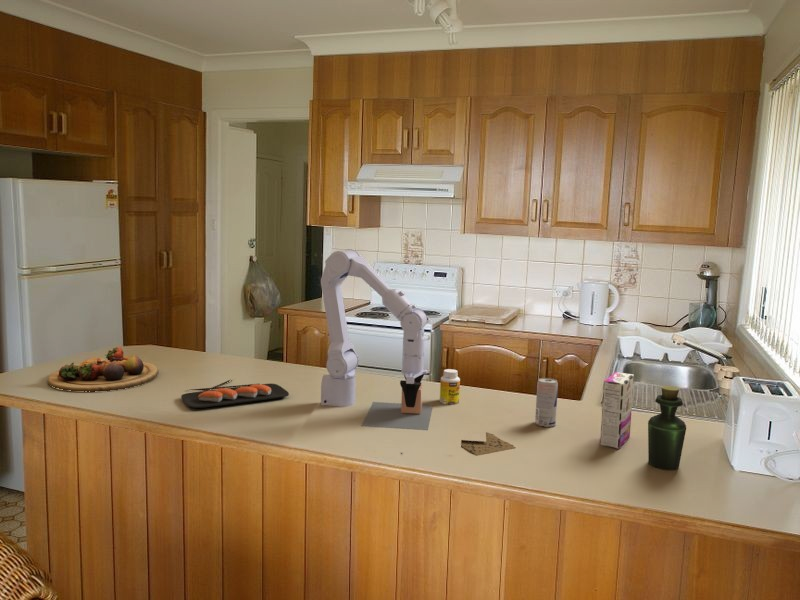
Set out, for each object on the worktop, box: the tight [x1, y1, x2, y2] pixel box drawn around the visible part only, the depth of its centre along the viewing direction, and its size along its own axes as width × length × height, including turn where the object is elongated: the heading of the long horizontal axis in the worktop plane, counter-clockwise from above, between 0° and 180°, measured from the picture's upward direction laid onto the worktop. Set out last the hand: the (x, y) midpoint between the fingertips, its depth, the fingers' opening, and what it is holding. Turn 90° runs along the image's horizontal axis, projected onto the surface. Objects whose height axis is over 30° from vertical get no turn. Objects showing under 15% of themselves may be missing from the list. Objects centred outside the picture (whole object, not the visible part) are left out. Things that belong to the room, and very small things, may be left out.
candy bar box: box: [599, 371, 635, 450], centre depth 165 cm, size 11×5×16 cm, turn 148°
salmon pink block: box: [400, 384, 424, 414], centre depth 181 cm, size 5×5×7 cm
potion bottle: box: [647, 385, 687, 471], centre depth 150 cm, size 8×8×18 cm
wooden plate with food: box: [47, 346, 159, 393], centre depth 210 cm, size 32×32×8 cm
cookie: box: [460, 431, 517, 457], centre depth 161 cm, size 12×12×1 cm
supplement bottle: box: [439, 368, 461, 406], centre depth 191 cm, size 6×6×10 cm
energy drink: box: [534, 377, 559, 428], centre depth 176 cm, size 5×5×12 cm
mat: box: [360, 401, 434, 431], centre depth 178 cm, size 17×21×1 cm
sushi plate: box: [180, 379, 290, 409], centre depth 199 cm, size 29×30×4 cm
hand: (411, 402), depth 182 cm, fingers open, 7 cm apart
